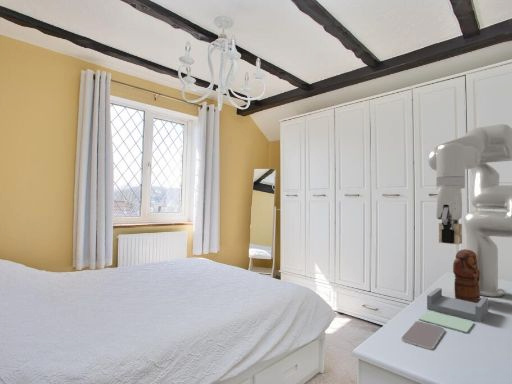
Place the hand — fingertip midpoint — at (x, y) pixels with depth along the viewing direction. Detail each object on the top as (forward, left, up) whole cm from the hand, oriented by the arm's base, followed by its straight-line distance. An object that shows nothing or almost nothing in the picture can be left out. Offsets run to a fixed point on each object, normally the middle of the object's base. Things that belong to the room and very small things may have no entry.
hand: (450, 241), depth 92 cm
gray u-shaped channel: (-7, 0, -23) cm, 24 cm away
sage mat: (+6, 0, -23) cm, 24 cm away
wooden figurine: (-22, 0, -23) cm, 32 cm away
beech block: (0, 0, 0) cm, 0 cm away
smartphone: (+20, -2, -24) cm, 31 cm away
